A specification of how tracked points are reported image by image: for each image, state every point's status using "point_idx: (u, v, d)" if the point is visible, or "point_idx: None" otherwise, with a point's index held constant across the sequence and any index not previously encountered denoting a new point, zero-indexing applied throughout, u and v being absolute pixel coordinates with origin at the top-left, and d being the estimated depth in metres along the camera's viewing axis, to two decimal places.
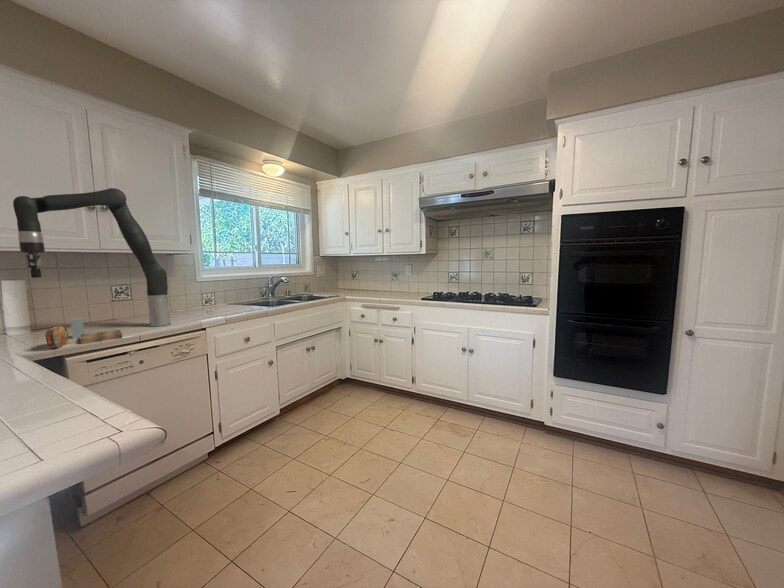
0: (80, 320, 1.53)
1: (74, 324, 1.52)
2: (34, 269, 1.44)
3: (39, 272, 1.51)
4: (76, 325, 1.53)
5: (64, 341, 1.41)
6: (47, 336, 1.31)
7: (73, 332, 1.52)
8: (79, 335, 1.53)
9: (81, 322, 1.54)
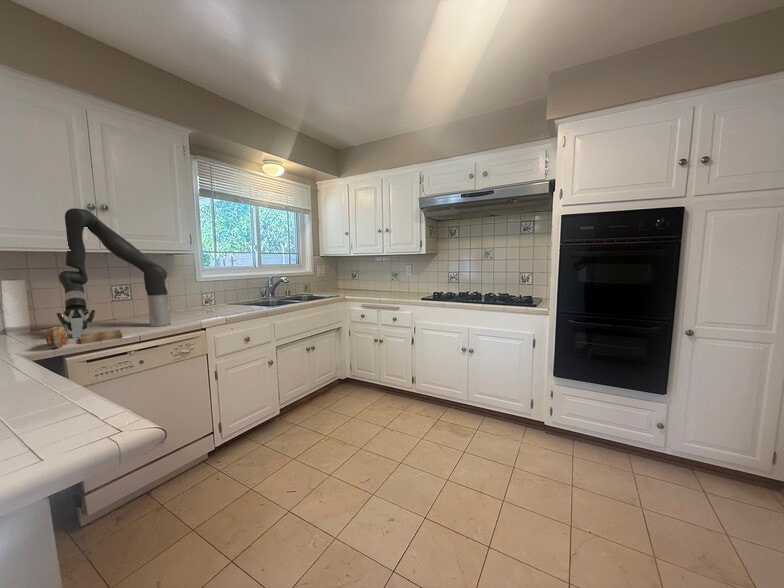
0: (80, 320, 1.53)
1: (74, 324, 1.52)
2: (67, 324, 1.52)
3: (83, 324, 1.55)
4: (76, 325, 1.53)
5: (64, 341, 1.41)
6: (47, 336, 1.31)
7: (73, 332, 1.52)
8: (79, 335, 1.53)
9: (81, 322, 1.54)
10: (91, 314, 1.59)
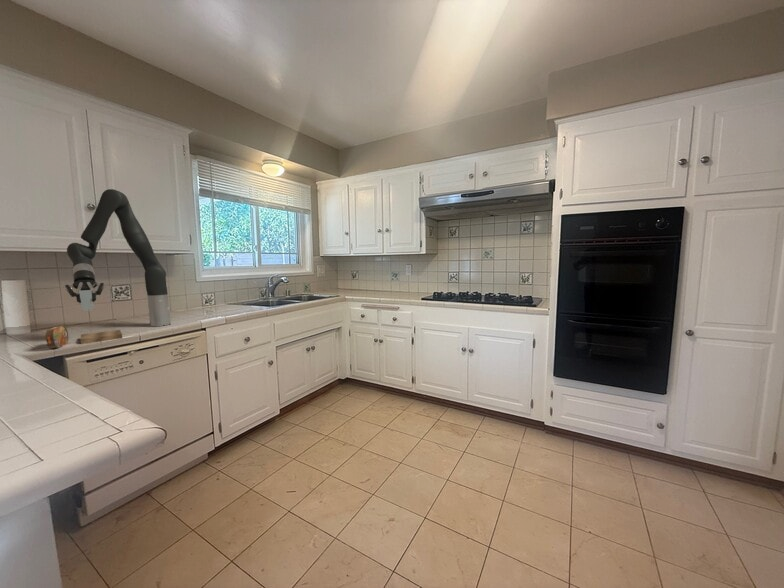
0: (89, 292, 1.50)
1: (82, 296, 1.49)
2: (75, 295, 1.49)
3: None
4: (85, 297, 1.49)
5: (64, 341, 1.41)
6: (47, 336, 1.31)
7: (82, 304, 1.49)
8: (88, 307, 1.50)
9: (90, 294, 1.50)
10: (100, 287, 1.56)
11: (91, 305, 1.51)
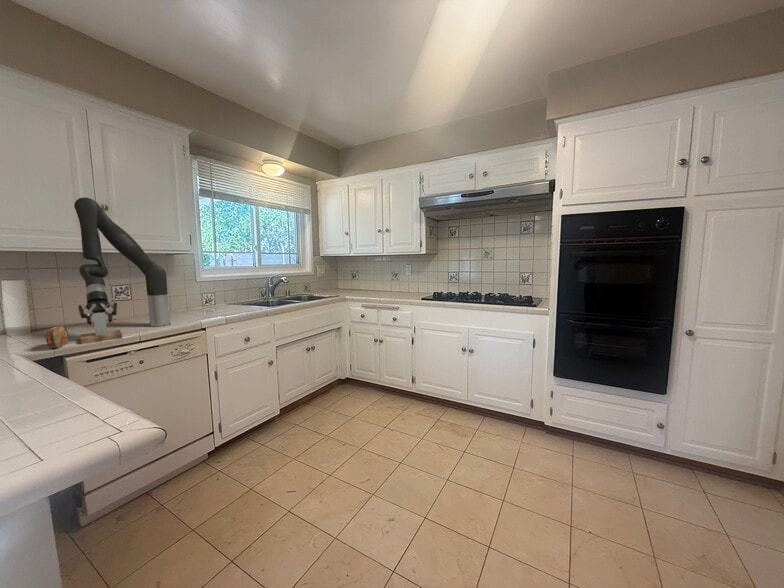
0: (103, 317, 1.49)
1: (96, 321, 1.48)
2: (86, 317, 1.47)
3: (108, 317, 1.51)
4: (99, 322, 1.48)
5: (64, 341, 1.41)
6: (47, 336, 1.31)
7: (96, 329, 1.48)
8: (102, 332, 1.49)
9: (104, 319, 1.49)
10: (114, 307, 1.55)
11: (105, 330, 1.50)
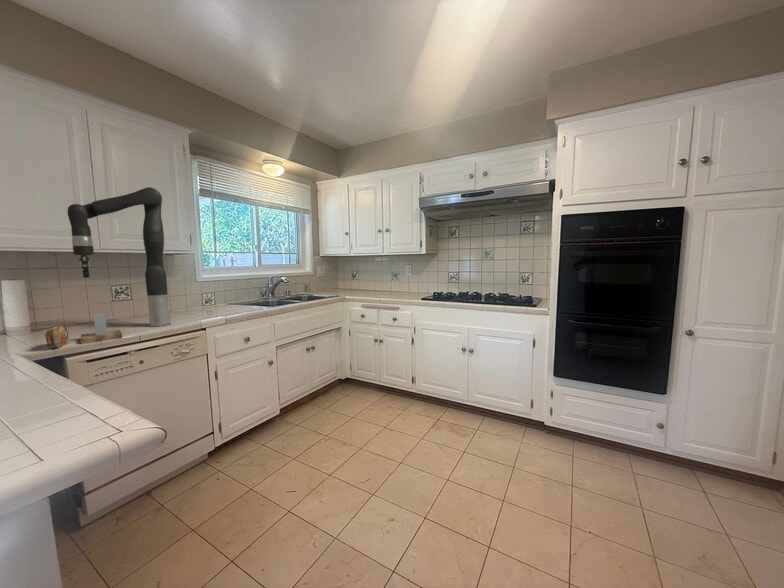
0: (103, 317, 1.49)
1: (96, 321, 1.48)
2: (86, 270, 1.60)
3: None
4: (99, 322, 1.48)
5: (64, 341, 1.41)
6: (47, 336, 1.31)
7: (96, 329, 1.48)
8: (102, 332, 1.49)
9: (104, 319, 1.49)
10: None
11: (105, 330, 1.50)
